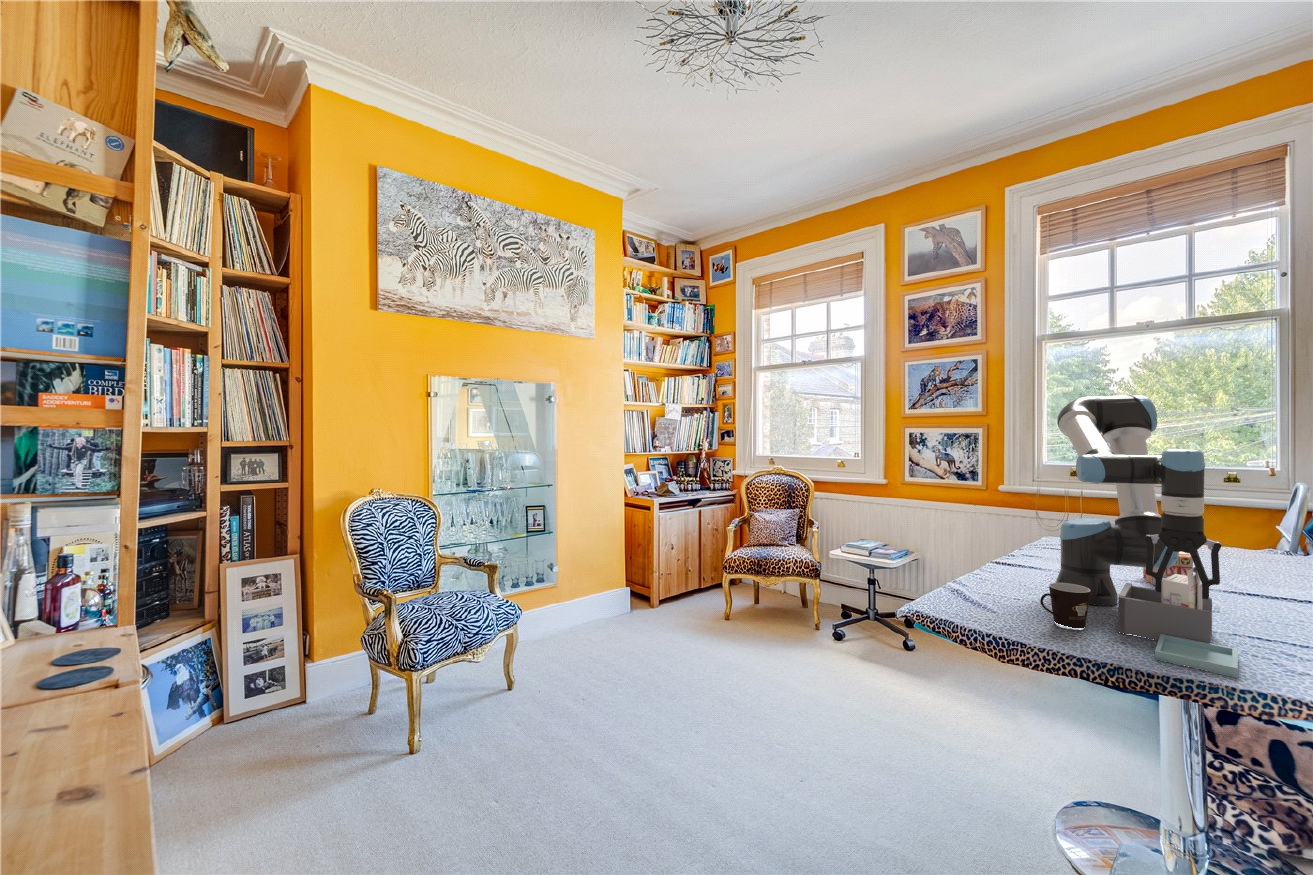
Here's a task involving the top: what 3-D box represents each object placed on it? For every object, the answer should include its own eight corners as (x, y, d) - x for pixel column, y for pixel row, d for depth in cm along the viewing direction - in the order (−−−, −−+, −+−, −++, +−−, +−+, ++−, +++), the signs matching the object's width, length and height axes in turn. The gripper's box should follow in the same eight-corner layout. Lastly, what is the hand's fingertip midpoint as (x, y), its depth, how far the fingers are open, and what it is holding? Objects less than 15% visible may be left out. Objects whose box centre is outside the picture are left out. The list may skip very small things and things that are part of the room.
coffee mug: (1082, 622, 146) (1082, 584, 146) (1096, 633, 138) (1096, 593, 138) (1031, 617, 150) (1030, 580, 149) (1041, 629, 142) (1041, 590, 141)
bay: (1118, 633, 138) (1118, 594, 138) (1126, 618, 148) (1126, 582, 148) (1210, 651, 126) (1210, 609, 126) (1211, 634, 136) (1212, 595, 136)
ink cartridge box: (1173, 619, 139) (1174, 561, 139) (1200, 625, 135) (1201, 565, 135) (1161, 626, 135) (1162, 566, 134) (1189, 633, 131) (1189, 571, 130)
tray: (1154, 659, 122) (1154, 650, 122) (1160, 642, 132) (1160, 634, 132) (1237, 678, 113) (1237, 668, 113) (1237, 657, 123) (1237, 648, 123)
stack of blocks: (1142, 577, 185) (1142, 540, 185) (1166, 579, 183) (1167, 542, 182) (1165, 595, 166) (1165, 554, 166) (1193, 598, 164) (1193, 556, 163)
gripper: (1129, 511, 138) (1129, 603, 139) (1238, 520, 125) (1237, 622, 125) (1133, 507, 143) (1133, 596, 144) (1238, 515, 130) (1237, 613, 131)
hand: (1181, 608), depth 135 cm, fingers closed on ink cartridge box, 6 cm apart
